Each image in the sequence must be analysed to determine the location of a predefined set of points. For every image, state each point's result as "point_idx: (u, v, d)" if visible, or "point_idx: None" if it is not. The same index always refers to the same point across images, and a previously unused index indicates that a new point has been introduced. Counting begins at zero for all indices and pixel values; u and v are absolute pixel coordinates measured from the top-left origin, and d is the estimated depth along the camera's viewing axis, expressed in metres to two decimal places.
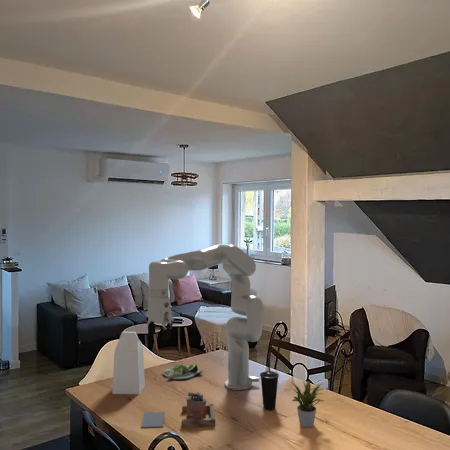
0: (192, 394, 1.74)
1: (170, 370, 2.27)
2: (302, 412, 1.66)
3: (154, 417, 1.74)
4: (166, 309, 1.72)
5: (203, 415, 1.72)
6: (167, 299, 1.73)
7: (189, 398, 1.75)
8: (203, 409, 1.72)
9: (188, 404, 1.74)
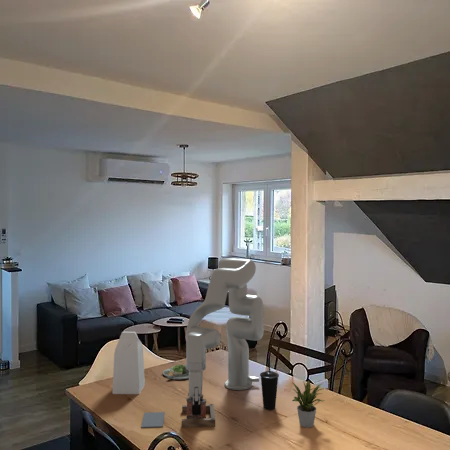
0: None
1: (170, 370, 2.27)
2: (302, 412, 1.66)
3: (154, 417, 1.74)
4: None
5: (203, 415, 1.72)
6: None
7: (189, 398, 1.75)
8: (203, 409, 1.72)
9: (188, 404, 1.74)
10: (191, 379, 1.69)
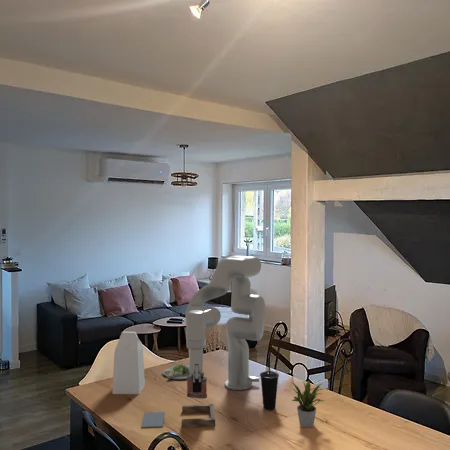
0: None
1: (170, 370, 2.27)
2: (302, 412, 1.66)
3: (154, 417, 1.74)
4: None
5: (204, 393, 1.72)
6: None
7: (189, 376, 1.75)
8: (204, 386, 1.72)
9: (189, 382, 1.74)
10: (191, 357, 1.69)
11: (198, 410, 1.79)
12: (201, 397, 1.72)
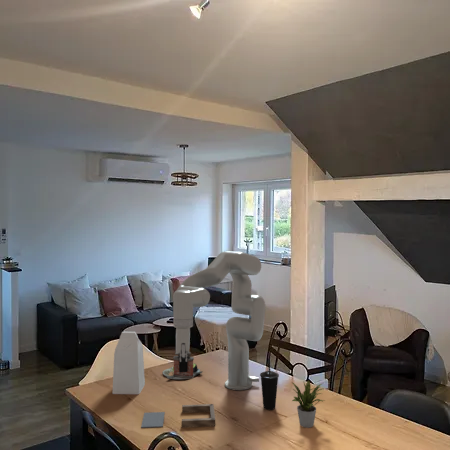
0: None
1: (170, 370, 2.27)
2: (302, 412, 1.66)
3: (154, 417, 1.74)
4: None
5: (191, 373, 1.71)
6: None
7: (176, 356, 1.74)
8: (191, 366, 1.71)
9: (175, 362, 1.72)
10: (178, 335, 1.68)
11: (198, 410, 1.79)
12: (188, 377, 1.71)
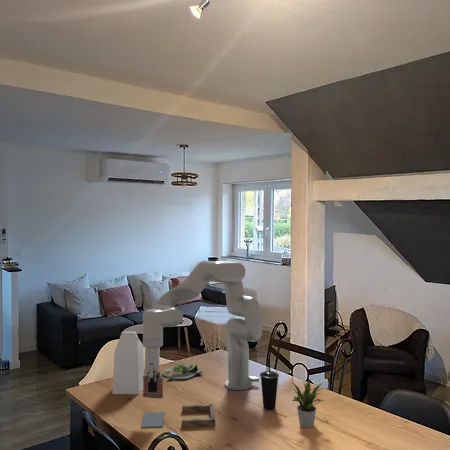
0: None
1: (170, 370, 2.27)
2: (302, 412, 1.66)
3: (154, 417, 1.74)
4: None
5: (160, 393, 1.71)
6: None
7: (146, 376, 1.73)
8: (160, 386, 1.71)
9: (145, 382, 1.72)
10: (147, 355, 1.67)
11: (198, 410, 1.79)
12: (157, 397, 1.70)
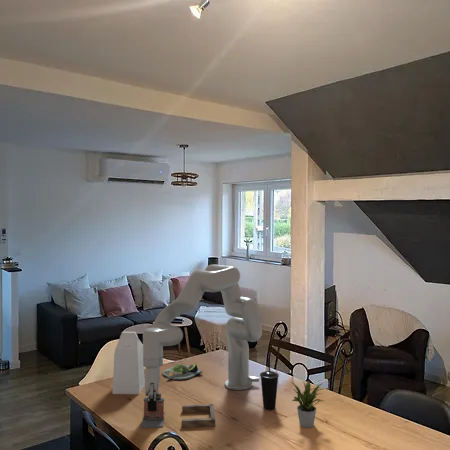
0: None
1: (170, 370, 2.27)
2: (302, 412, 1.66)
3: None
4: None
5: (161, 414, 1.71)
6: None
7: (146, 398, 1.74)
8: (161, 408, 1.72)
9: (146, 404, 1.72)
10: (147, 375, 1.67)
11: (198, 410, 1.79)
12: (158, 419, 1.71)
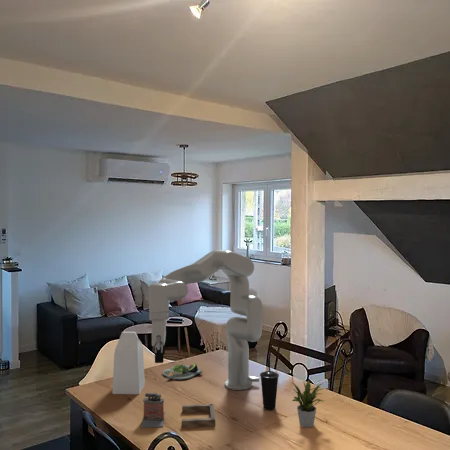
0: (149, 394, 1.72)
1: (170, 370, 2.27)
2: (302, 412, 1.66)
3: None
4: None
5: (161, 415, 1.71)
6: None
7: (146, 399, 1.73)
8: (161, 409, 1.71)
9: (145, 405, 1.72)
10: (153, 328, 1.70)
11: (198, 410, 1.79)
12: (158, 420, 1.71)
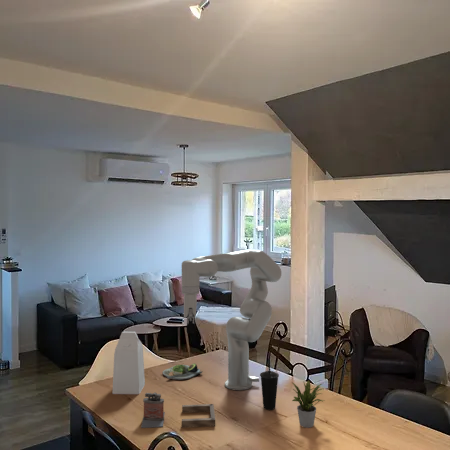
0: (149, 394, 1.72)
1: (170, 370, 2.27)
2: (302, 412, 1.66)
3: None
4: None
5: (161, 415, 1.71)
6: None
7: (146, 399, 1.73)
8: (161, 409, 1.71)
9: (145, 405, 1.72)
10: (186, 301, 1.85)
11: (198, 410, 1.79)
12: (158, 420, 1.71)
